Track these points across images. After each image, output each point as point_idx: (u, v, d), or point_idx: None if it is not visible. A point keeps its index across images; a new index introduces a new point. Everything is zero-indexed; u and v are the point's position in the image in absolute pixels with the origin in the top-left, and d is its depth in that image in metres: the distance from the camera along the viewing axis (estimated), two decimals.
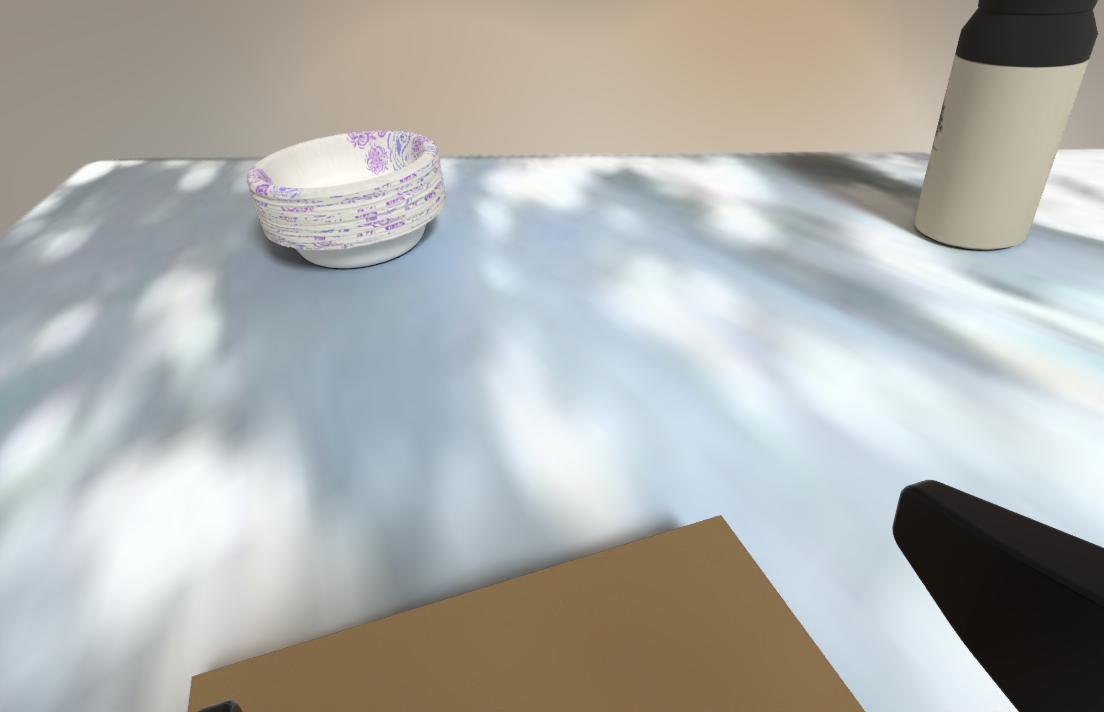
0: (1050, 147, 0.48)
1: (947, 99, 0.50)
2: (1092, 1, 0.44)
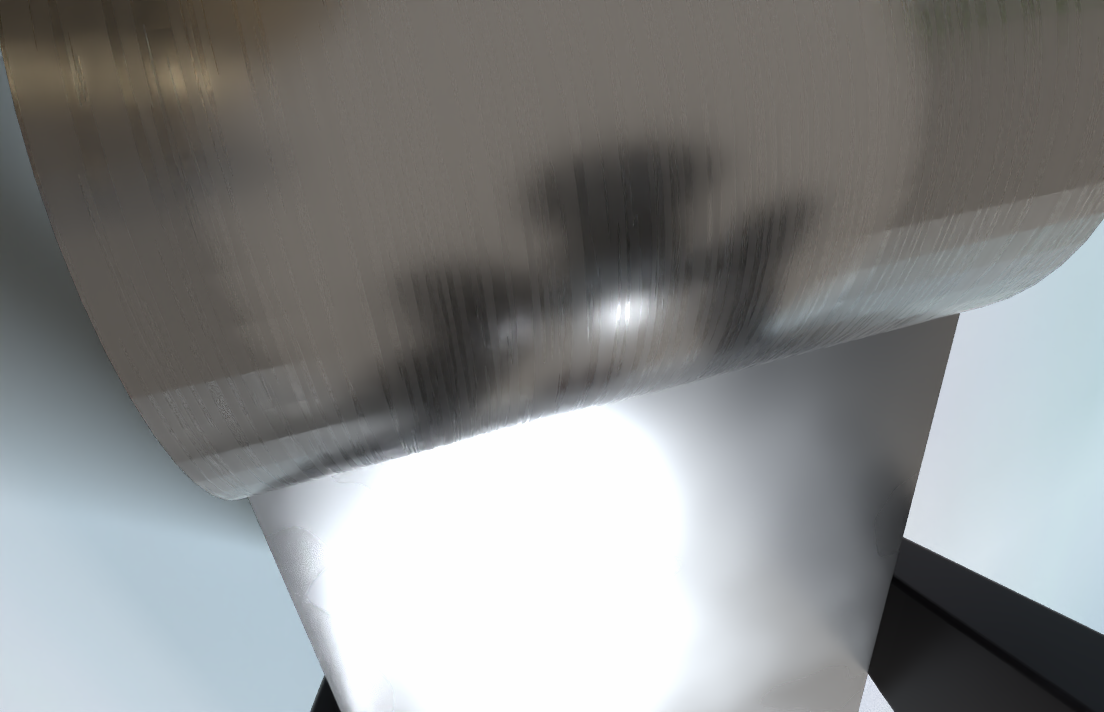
0: None
1: None
2: None
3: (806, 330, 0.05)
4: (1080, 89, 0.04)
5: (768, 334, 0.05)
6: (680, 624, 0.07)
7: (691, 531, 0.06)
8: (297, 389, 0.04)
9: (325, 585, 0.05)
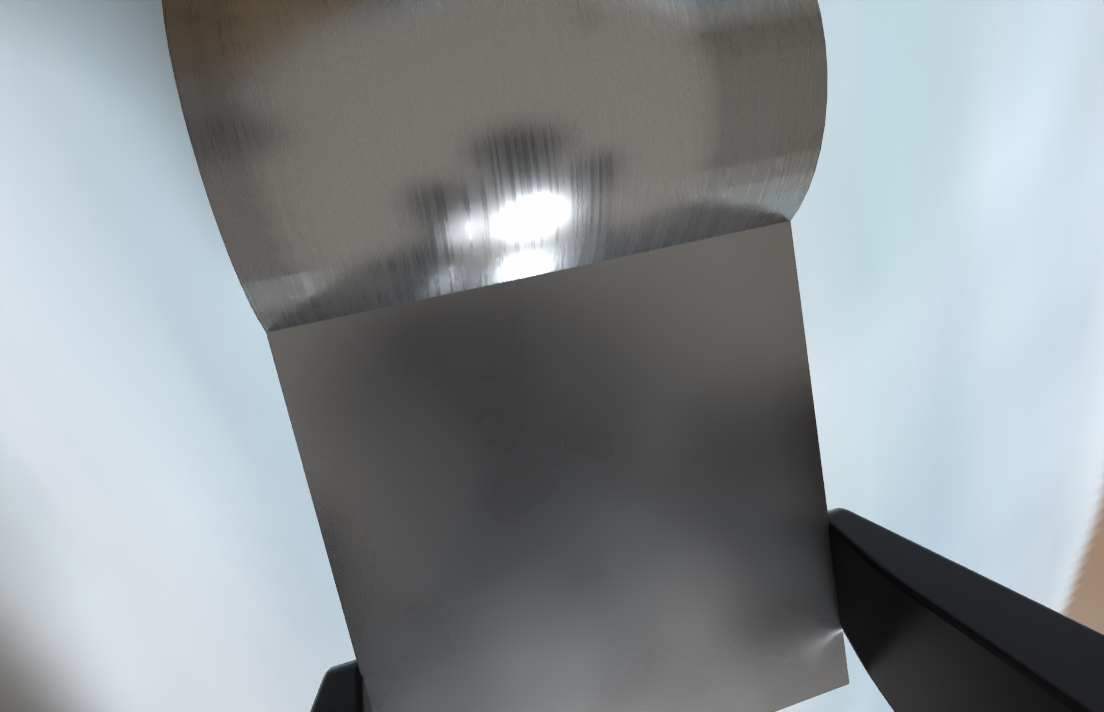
0: None
1: None
2: None
3: (636, 185, 0.07)
4: (762, 14, 0.07)
5: (607, 184, 0.07)
6: (625, 516, 0.08)
7: (615, 411, 0.08)
8: (292, 179, 0.06)
9: (320, 425, 0.07)
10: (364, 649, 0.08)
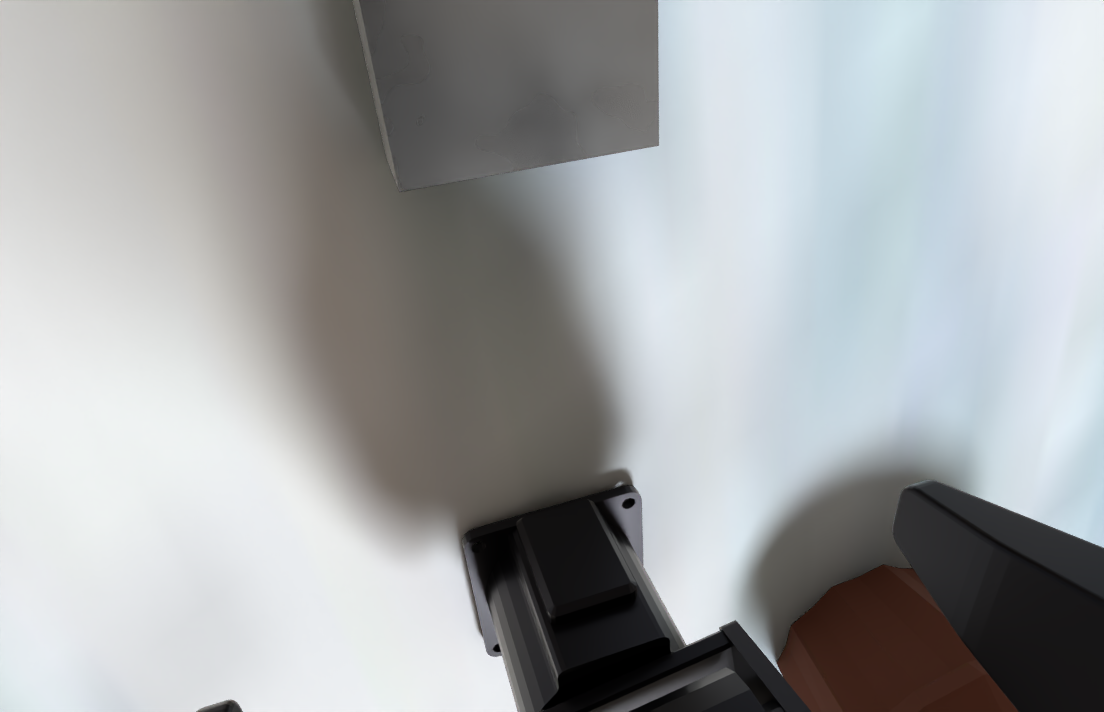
0: None
1: None
2: None
3: None
4: None
5: None
6: (534, 2, 0.14)
7: None
8: None
9: None
10: (377, 59, 0.13)
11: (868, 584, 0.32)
